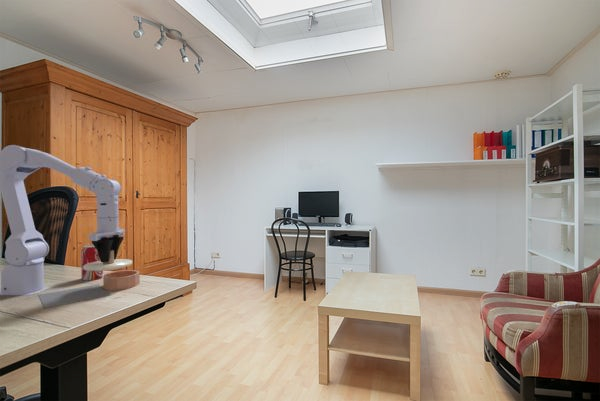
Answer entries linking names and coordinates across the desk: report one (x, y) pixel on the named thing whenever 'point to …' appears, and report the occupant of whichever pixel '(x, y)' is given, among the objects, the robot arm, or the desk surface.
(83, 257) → the beverage can
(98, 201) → the robot arm
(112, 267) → the lid
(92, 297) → the mat
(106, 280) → the bowl
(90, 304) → the desk surface
